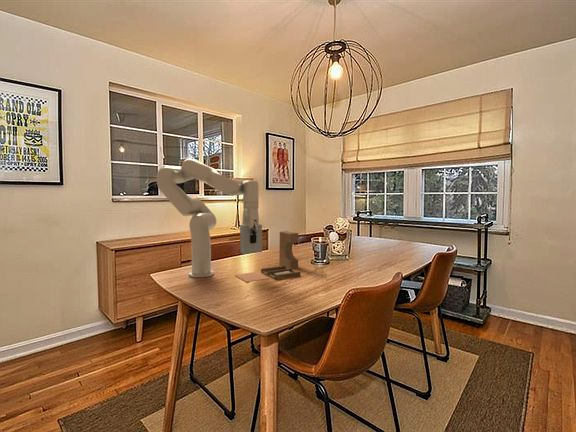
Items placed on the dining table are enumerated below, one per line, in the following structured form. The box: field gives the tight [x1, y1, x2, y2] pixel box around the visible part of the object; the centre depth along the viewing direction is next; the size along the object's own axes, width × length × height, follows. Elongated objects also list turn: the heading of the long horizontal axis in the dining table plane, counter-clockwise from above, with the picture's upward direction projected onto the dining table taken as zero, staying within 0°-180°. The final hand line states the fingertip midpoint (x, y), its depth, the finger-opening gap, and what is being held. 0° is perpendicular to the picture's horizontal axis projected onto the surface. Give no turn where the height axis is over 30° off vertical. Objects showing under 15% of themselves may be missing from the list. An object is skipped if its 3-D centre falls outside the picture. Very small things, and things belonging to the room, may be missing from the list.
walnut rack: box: [260, 265, 301, 281], centre depth 165 cm, size 15×15×2 cm
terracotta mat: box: [234, 271, 270, 284], centre depth 160 cm, size 14×12×1 cm
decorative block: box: [278, 230, 299, 270], centre depth 182 cm, size 11×6×20 cm, turn 38°
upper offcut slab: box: [273, 271, 292, 276], centre depth 162 cm, size 5×9×1 cm, turn 125°
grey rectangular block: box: [239, 223, 263, 255], centre depth 159 cm, size 4×10×14 cm, turn 122°
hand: (251, 241), depth 159 cm, fingers closed on grey rectangular block, 4 cm apart
